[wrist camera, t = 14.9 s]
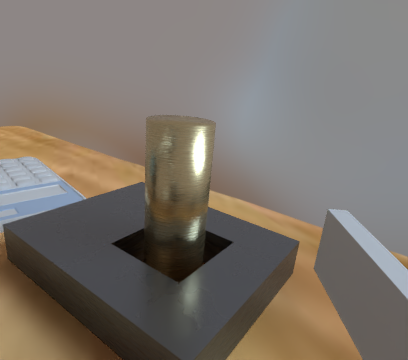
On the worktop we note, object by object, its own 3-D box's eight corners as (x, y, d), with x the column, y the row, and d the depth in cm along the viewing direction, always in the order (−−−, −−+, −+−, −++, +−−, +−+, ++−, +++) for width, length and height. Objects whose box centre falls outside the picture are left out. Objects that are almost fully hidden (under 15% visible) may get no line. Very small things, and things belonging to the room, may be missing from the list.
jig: (8, 258, 24) (2, 224, 23) (141, 206, 35) (141, 181, 34) (184, 412, 14) (188, 365, 13) (292, 273, 25) (299, 241, 24)
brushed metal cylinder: (131, 278, 23) (131, 117, 19) (170, 254, 26) (177, 113, 22) (175, 307, 20) (186, 129, 16) (212, 276, 24) (228, 123, 20)
